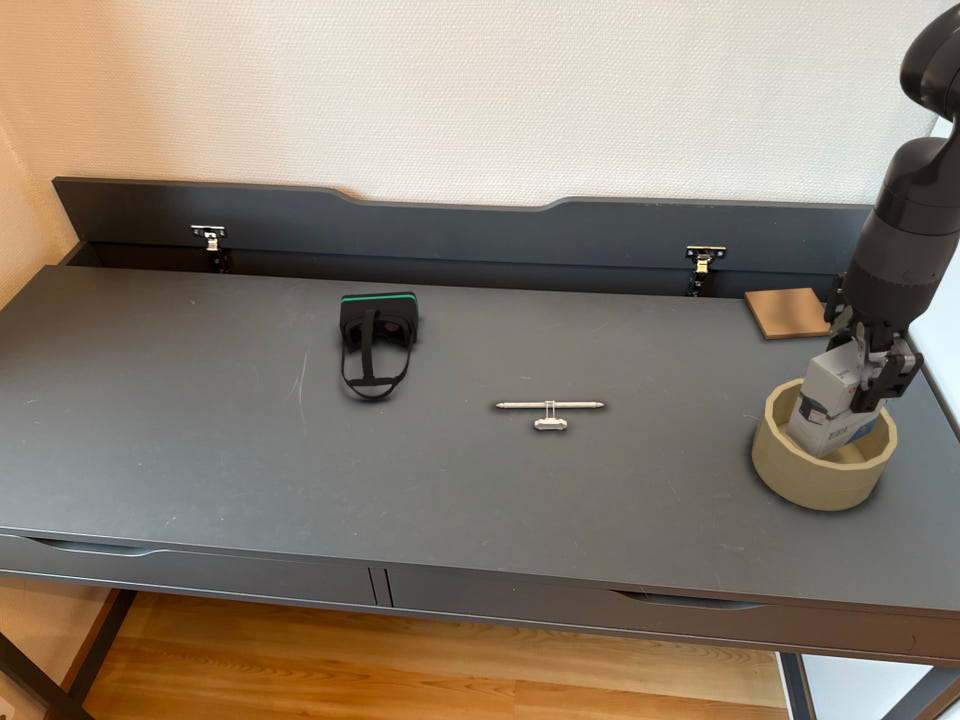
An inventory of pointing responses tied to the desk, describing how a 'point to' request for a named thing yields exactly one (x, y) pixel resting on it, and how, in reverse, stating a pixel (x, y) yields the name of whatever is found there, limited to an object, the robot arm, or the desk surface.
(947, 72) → the robot arm
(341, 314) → the virtual reality headset
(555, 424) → the picture light
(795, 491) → the pot
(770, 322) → the plate
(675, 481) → the desk surface
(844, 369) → the ink box
